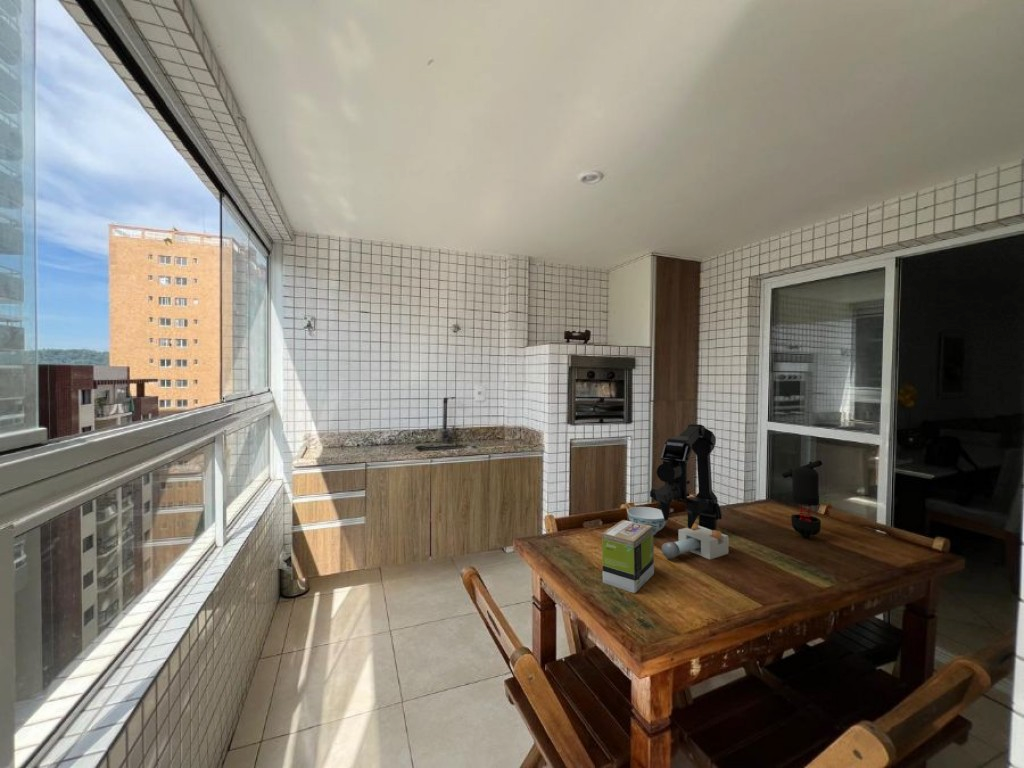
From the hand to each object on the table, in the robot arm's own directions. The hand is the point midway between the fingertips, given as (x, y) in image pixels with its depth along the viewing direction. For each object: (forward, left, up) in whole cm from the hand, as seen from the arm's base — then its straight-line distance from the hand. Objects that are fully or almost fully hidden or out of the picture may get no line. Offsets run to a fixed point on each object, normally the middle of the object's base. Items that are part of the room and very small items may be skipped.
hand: (677, 524), depth 131 cm
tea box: (+25, +3, -11) cm, 28 cm away
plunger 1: (-14, -4, -6) cm, 16 cm away
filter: (-57, +10, -11) cm, 59 cm away
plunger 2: (-14, +4, -6) cm, 16 cm away
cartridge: (-3, 0, -10) cm, 11 cm away
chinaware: (-9, -21, -11) cm, 25 cm away
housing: (-13, 0, -11) cm, 17 cm away
